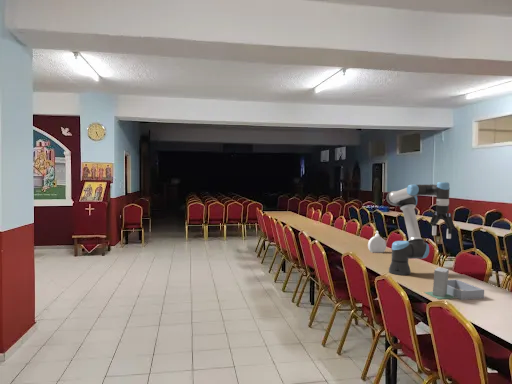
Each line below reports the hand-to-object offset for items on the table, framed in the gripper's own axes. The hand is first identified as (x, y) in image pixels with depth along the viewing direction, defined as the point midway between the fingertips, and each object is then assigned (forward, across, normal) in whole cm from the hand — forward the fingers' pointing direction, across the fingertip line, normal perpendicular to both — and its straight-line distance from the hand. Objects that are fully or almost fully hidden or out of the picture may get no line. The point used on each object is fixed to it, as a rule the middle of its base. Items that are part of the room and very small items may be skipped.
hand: (441, 236), depth 243 cm
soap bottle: (+32, -100, +13) cm, 106 cm away
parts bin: (+32, +19, -2) cm, 37 cm away
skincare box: (+31, +21, -17) cm, 42 cm away
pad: (+32, +21, -17) cm, 42 cm away
